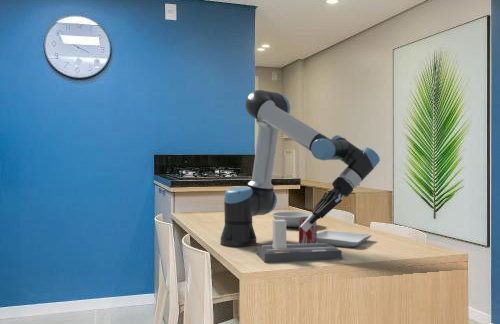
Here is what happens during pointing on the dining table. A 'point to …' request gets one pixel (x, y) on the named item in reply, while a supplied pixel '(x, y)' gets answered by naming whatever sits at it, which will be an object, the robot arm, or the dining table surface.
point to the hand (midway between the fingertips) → (302, 229)
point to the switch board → (299, 252)
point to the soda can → (307, 233)
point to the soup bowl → (290, 217)
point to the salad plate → (341, 238)
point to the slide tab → (279, 234)
